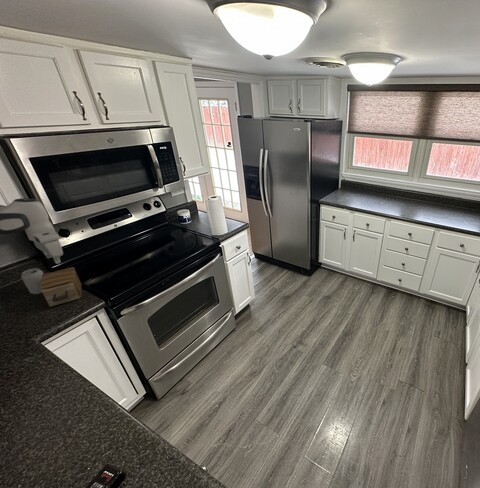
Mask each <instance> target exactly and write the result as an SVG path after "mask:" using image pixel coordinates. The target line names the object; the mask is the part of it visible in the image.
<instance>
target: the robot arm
mask: <svg viewBox="0 0 480 488" xmlns="http://www.w3.org/2000/svg"><path fill="white" fill-rule="evenodd" d="M49 218H50V217H49V214H48V212H47V210H46V208H45V206H44V205H43V204H42V202H41V201H39V200H38V199H35V198H25V197H22V198H16V199H13V201H12V202H10V203H8V204H7V205H3V204H0V235H11V234H12V235H13V234H15V233H18V232H22V231H24V232H25V234H26V236H27V238H28V240H29V241H31V242H33V244H34V246H35V247H36V249H38V250H40V251H41V252H42V253H43V254H44V256H45V258H46V259H53V262H54V264H56V265H57V264H61V263H62V261H61V257H62V256H63V255H64V251H63V248H62V244H61V242H60V240H59V239H60V235H59V233H57V232H56V229H55V228H54V225H53V224H52V223H51V221H50V219H49Z"/></svg>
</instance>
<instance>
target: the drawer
mask: <svg viewBox="0 0 480 488" xmlns="http://www.w3.org/2000/svg"><path fill="white" fill-rule="evenodd" d="M42 292H43V293H42V295H43V294H44V295H43V297H44V296H45V297H44V299H45V298H46V299H45V301H46V300H47V301H46V303H47V302H48V303H47V304H48V306H49V305H50V306H49V308H52V307H54V306H58V305H61V304H65V303H68V302H72V301H75V300H79V299H80V297H79V295H78V293H77V290H76V288H75V286H74V284H73V282H68V283H64V284H60V285H56V286H52V287H48V288H45V290H42Z"/></svg>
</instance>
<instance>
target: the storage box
mask: <svg viewBox="0 0 480 488" xmlns="http://www.w3.org/2000/svg"><path fill="white" fill-rule="evenodd" d="M68 282H73V284H74V286H75V288H76V290H77V293H78V295H79V297H80V298H82V297H83V294H82V293H83V292H82V282H81V280H80V278H79V276H78V274H77V271H76V268H75V267H74V266H72V267H68V268H65V269H59V270H55V271H52V272H46V273H43V274H42V279H41V285H40V289H41V291H42V290H45V288H48V287H52V286H56V285H60V284H64V283H68ZM41 294H42V295H43V297H44V299H45V301H46V303H47V304H48V302H47V300H46V298H45V296H44V294H43V292H42V293H41ZM80 298H79V299H80ZM48 306H49V307H50V305H49V304H48Z"/></svg>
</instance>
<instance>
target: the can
mask: <svg viewBox="0 0 480 488" xmlns="http://www.w3.org/2000/svg"><path fill="white" fill-rule="evenodd" d="M42 274H44V272H43V270H41V269H40V268H35V267H34V268H29V269H27V270H24V271H23V272H21V276H20V279H21V280H22V281H23V284H24V285H25V286H26V288H27V290H28V292H29V294H31V295H39V294H43V293H42V291H41V289H40V285H41V279H42Z"/></svg>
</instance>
